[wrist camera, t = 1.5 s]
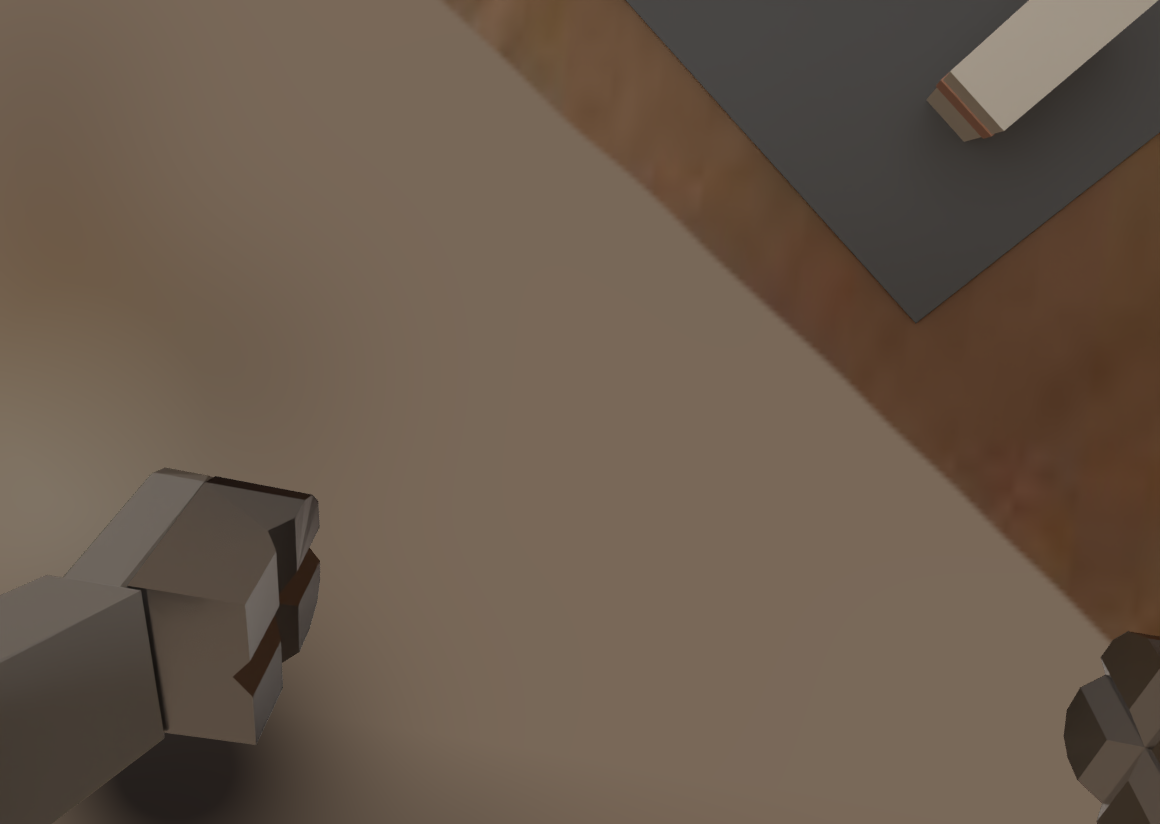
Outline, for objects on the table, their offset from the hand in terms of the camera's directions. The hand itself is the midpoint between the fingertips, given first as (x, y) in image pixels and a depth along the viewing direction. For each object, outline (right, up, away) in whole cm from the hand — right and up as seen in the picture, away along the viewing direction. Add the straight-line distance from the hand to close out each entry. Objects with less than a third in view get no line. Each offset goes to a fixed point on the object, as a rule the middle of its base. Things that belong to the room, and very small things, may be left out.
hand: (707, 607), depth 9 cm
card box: (+16, +16, +27) cm, 36 cm away
